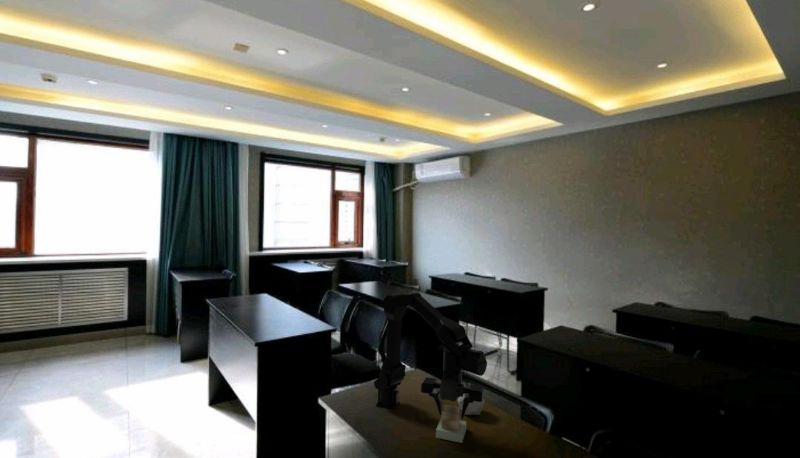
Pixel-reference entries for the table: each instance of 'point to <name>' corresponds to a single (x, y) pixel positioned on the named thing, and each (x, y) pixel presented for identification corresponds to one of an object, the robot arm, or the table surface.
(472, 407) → the die
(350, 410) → the table surface
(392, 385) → the robot arm
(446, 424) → the maple cube
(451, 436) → the foundation slab
